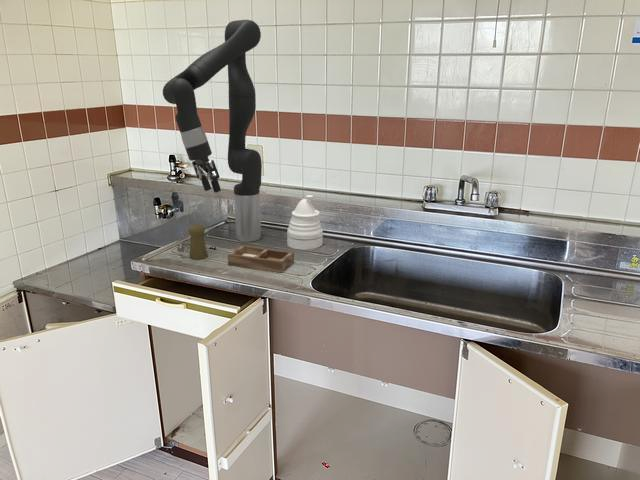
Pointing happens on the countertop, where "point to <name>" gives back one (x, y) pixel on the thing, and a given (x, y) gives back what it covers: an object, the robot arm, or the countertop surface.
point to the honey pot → (305, 227)
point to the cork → (197, 243)
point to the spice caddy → (261, 258)
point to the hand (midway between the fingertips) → (212, 190)
